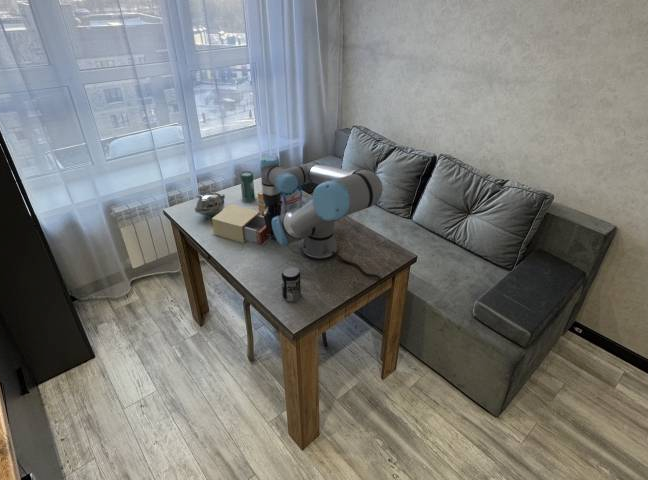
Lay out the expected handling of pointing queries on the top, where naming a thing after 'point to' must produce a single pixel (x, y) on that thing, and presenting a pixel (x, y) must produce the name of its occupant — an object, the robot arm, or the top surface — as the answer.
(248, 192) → the can
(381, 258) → the top surface
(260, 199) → the supplement box
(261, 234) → the drawer
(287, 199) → the milk carton
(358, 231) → the top surface
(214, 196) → the piggy bank
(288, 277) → the beverage can
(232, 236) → the beige cardboard box
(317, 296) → the top surface
